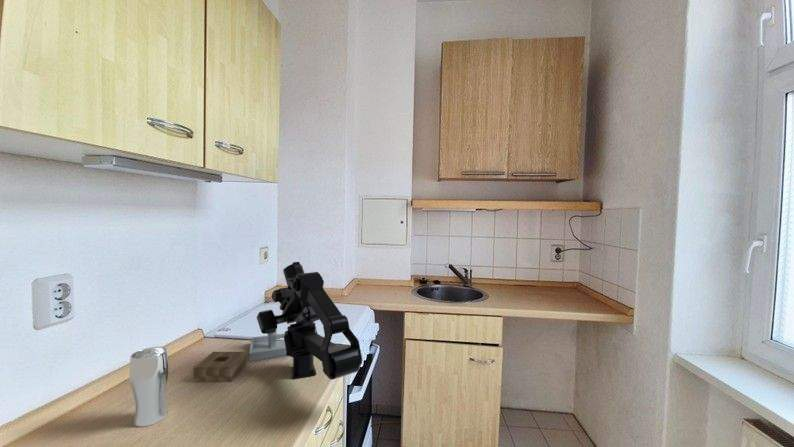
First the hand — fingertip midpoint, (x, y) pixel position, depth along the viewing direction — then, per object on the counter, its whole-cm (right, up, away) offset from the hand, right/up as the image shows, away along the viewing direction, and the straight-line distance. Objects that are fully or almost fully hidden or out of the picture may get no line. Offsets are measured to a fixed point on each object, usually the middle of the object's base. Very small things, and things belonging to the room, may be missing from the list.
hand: (282, 330), depth 106 cm
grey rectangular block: (-6, -8, +7) cm, 12 cm away
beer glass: (-19, -10, -31) cm, 38 cm away
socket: (-14, -9, -10) cm, 20 cm away
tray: (-5, -8, +6) cm, 11 cm away
